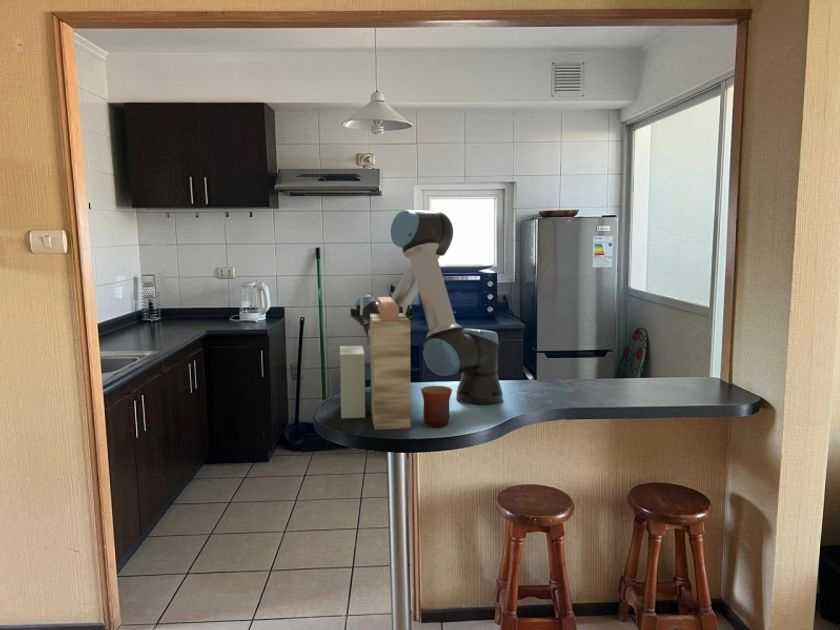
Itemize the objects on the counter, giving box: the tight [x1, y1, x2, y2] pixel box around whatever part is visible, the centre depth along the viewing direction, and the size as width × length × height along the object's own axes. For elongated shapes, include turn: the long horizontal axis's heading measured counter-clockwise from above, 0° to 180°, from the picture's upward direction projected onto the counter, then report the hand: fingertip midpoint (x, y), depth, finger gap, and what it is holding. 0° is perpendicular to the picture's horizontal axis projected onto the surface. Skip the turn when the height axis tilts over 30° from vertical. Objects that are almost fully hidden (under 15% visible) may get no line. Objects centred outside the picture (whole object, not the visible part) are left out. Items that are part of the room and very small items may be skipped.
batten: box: [377, 296, 399, 321], centre depth 177 cm, size 28×4×4 cm, turn 8°
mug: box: [420, 385, 453, 429], centre depth 171 cm, size 12×9×10 cm
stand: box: [369, 313, 412, 431], centre depth 173 cm, size 18×10×30 cm, turn 8°
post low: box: [339, 345, 366, 419], centre depth 182 cm, size 14×7×19 cm, turn 8°
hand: (384, 302), depth 184 cm, fingers open, 13 cm apart
